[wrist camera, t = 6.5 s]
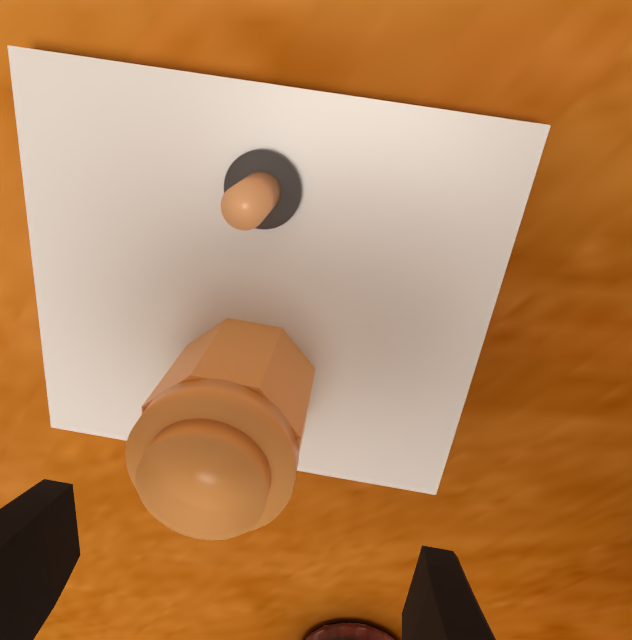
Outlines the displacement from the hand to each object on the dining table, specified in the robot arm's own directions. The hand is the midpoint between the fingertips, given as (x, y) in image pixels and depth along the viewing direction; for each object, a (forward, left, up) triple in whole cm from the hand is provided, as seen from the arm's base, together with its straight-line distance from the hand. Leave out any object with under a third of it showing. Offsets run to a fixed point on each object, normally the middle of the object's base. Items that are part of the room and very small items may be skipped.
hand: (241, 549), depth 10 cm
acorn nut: (+2, +1, -9) cm, 9 cm away
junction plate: (+2, -2, -10) cm, 10 cm away
